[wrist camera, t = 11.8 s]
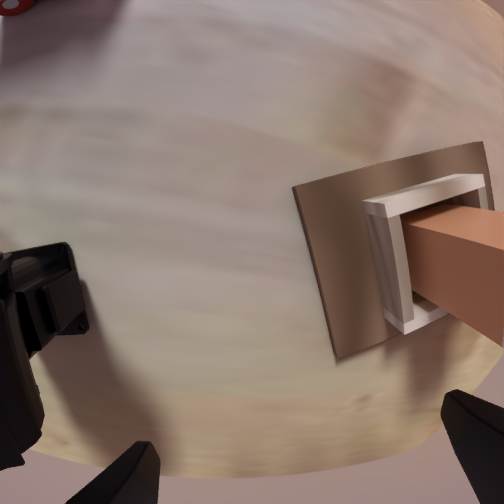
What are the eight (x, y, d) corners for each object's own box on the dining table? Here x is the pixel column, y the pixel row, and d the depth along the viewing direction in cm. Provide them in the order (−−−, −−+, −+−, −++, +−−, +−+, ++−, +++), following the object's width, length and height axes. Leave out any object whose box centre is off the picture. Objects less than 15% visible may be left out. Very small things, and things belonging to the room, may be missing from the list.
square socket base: (333, 352, 22) (352, 381, 18) (291, 187, 19) (308, 187, 15) (491, 279, 22) (521, 292, 18) (474, 142, 20) (508, 138, 16)
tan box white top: (403, 284, 20) (515, 355, 9) (392, 220, 19) (522, 256, 8) (452, 264, 20) (564, 313, 10) (444, 203, 19) (570, 224, 9)
